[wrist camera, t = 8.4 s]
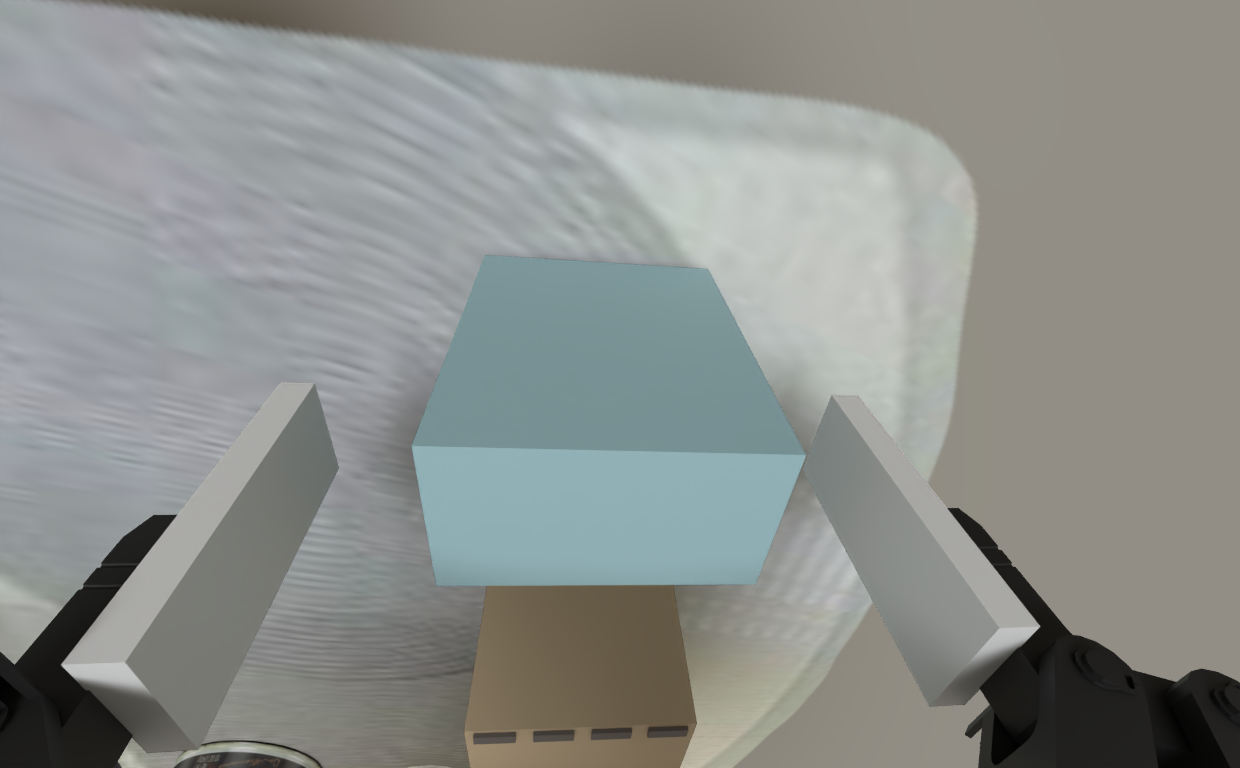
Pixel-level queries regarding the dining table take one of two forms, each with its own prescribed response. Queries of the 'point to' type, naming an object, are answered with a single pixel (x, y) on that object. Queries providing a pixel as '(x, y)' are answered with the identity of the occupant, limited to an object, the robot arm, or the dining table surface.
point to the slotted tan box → (579, 679)
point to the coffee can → (244, 756)
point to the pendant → (429, 767)
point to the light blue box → (601, 433)
